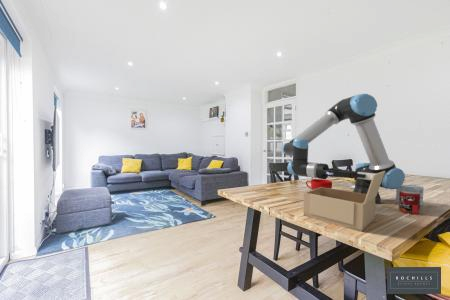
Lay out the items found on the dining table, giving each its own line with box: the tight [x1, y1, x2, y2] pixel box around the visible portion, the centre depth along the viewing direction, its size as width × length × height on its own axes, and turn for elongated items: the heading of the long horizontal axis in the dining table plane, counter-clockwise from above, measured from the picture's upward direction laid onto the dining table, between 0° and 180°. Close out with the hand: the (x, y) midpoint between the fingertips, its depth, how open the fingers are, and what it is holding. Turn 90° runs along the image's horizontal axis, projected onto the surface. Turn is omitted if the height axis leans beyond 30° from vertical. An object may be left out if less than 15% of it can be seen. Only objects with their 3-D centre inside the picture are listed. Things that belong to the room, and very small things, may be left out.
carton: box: [302, 187, 376, 232], centre depth 97 cm, size 24×21×11 cm
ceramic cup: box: [305, 178, 333, 190], centre depth 140 cm, size 13×17×10 cm
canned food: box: [398, 189, 421, 215], centre depth 107 cm, size 8×8×11 cm
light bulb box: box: [395, 184, 424, 206], centre depth 123 cm, size 11×7×11 cm, turn 84°
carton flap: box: [364, 171, 385, 204], centre depth 87 cm, size 12×19×1 cm
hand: (375, 177), depth 86 cm, fingers closed
